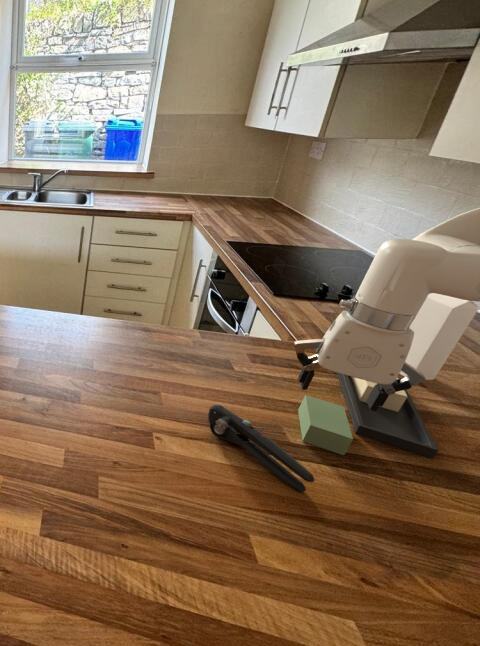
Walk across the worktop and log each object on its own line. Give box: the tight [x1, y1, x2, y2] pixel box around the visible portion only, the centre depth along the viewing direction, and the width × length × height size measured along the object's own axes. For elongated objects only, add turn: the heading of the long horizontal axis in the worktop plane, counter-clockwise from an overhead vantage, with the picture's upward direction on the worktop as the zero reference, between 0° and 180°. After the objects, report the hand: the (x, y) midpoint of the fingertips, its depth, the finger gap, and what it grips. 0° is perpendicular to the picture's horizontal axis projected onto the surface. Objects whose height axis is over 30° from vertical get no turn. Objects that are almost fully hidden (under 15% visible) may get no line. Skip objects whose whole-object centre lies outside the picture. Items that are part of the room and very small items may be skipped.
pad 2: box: [351, 376, 407, 412], centre depth 86 cm, size 6×10×4 cm, turn 147°
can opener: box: [207, 404, 315, 493], centre depth 70 cm, size 18×7×6 cm, turn 23°
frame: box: [336, 372, 439, 459], centre depth 83 cm, size 11×24×2 cm, turn 147°
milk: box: [399, 293, 480, 381], centre depth 90 cm, size 6×6×22 cm
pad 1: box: [297, 394, 354, 456], centre depth 76 cm, size 6×10×4 cm, turn 147°
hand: (335, 395), depth 73 cm, fingers open, 9 cm apart
